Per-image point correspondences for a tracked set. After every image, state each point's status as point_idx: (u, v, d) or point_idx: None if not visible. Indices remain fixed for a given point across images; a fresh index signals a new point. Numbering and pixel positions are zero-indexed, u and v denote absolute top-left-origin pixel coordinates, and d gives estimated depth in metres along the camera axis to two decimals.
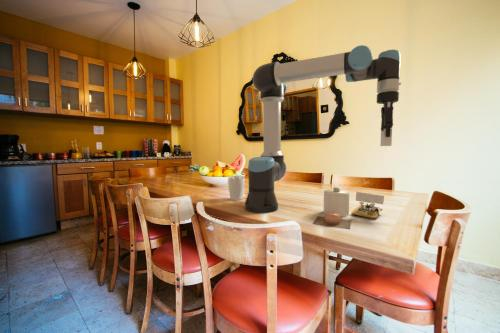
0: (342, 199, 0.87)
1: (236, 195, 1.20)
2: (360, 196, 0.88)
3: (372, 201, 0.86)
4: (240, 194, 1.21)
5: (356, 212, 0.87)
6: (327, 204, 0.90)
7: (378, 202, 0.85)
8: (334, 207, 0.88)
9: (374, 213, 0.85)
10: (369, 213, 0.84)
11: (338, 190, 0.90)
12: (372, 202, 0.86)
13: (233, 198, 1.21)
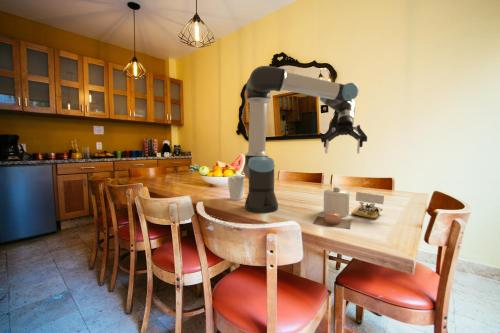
0: (342, 199, 0.87)
1: (236, 195, 1.20)
2: (360, 196, 0.88)
3: (372, 201, 0.86)
4: (240, 194, 1.21)
5: (356, 212, 0.87)
6: (327, 204, 0.90)
7: (378, 202, 0.85)
8: (334, 207, 0.88)
9: (374, 213, 0.85)
10: (369, 213, 0.84)
11: (338, 190, 0.90)
12: (372, 202, 0.86)
13: (233, 198, 1.21)
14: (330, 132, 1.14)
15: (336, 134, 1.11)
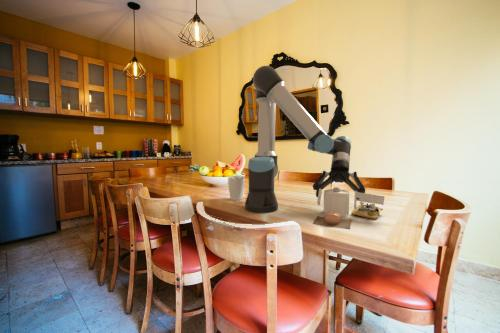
0: (342, 199, 0.87)
1: (236, 195, 1.20)
2: (360, 196, 0.87)
3: (372, 201, 0.86)
4: (240, 194, 1.21)
5: (356, 212, 0.87)
6: (327, 204, 0.90)
7: (378, 202, 0.84)
8: (334, 207, 0.88)
9: (374, 213, 0.84)
10: (369, 213, 0.84)
11: (338, 190, 0.90)
12: (372, 202, 0.86)
13: (233, 198, 1.21)
14: (323, 178, 1.00)
15: (330, 181, 0.98)
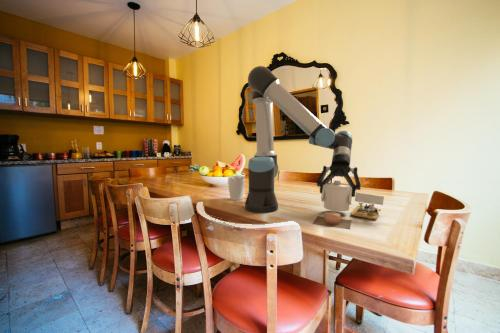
0: (343, 192, 0.87)
1: (236, 195, 1.20)
2: (360, 197, 0.87)
3: (372, 202, 0.85)
4: (240, 194, 1.21)
5: (356, 213, 0.86)
6: (328, 197, 0.89)
7: (378, 203, 0.84)
8: (334, 200, 0.88)
9: (374, 214, 0.84)
10: (369, 214, 0.83)
11: (339, 183, 0.90)
12: (371, 203, 0.85)
13: (233, 198, 1.21)
14: (325, 173, 0.99)
15: (332, 176, 0.97)
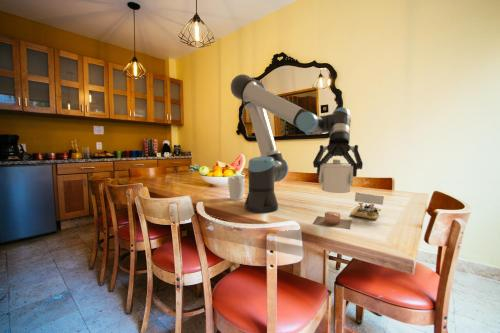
0: (343, 171, 0.76)
1: (236, 195, 1.20)
2: (359, 197, 0.87)
3: (371, 202, 0.85)
4: (240, 194, 1.21)
5: (356, 213, 0.86)
6: (326, 178, 0.79)
7: (377, 203, 0.84)
8: (334, 181, 0.77)
9: (374, 214, 0.84)
10: (369, 214, 0.83)
11: (338, 162, 0.80)
12: (371, 203, 0.85)
13: (233, 198, 1.21)
14: (322, 153, 0.89)
15: (330, 155, 0.87)
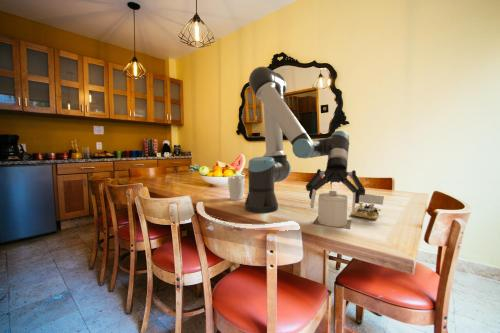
0: (339, 205, 0.76)
1: (236, 195, 1.20)
2: (359, 197, 0.87)
3: (371, 202, 0.85)
4: (240, 194, 1.21)
5: (356, 213, 0.86)
6: (322, 210, 0.79)
7: (377, 203, 0.84)
8: (330, 214, 0.77)
9: (374, 214, 0.84)
10: (369, 214, 0.83)
11: (335, 194, 0.79)
12: (371, 203, 0.85)
13: (233, 198, 1.21)
14: (318, 177, 0.89)
15: (325, 181, 0.86)
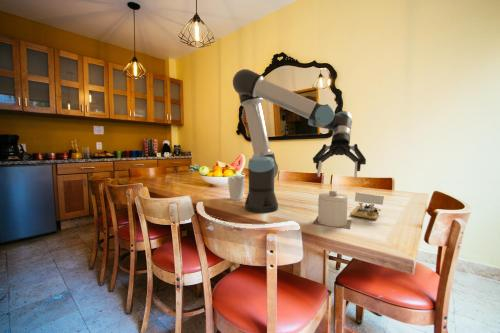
0: (339, 205, 0.76)
1: (236, 195, 1.20)
2: (359, 197, 0.87)
3: (371, 202, 0.85)
4: (240, 194, 1.21)
5: (356, 213, 0.86)
6: (322, 210, 0.79)
7: (377, 203, 0.84)
8: (330, 214, 0.77)
9: (374, 214, 0.84)
10: (369, 214, 0.83)
11: (335, 194, 0.79)
12: (371, 203, 0.85)
13: (233, 198, 1.21)
14: (323, 151, 0.99)
15: (330, 154, 0.97)
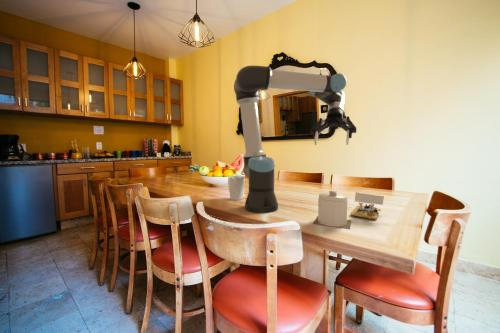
0: (339, 205, 0.76)
1: (236, 195, 1.20)
2: (359, 197, 0.87)
3: (371, 202, 0.85)
4: (240, 194, 1.21)
5: (356, 213, 0.86)
6: (322, 210, 0.79)
7: (377, 203, 0.84)
8: (330, 214, 0.77)
9: (374, 214, 0.84)
10: (369, 214, 0.83)
11: (335, 194, 0.79)
12: (371, 203, 0.85)
13: (233, 198, 1.21)
14: (320, 124, 1.12)
15: (325, 126, 1.10)
